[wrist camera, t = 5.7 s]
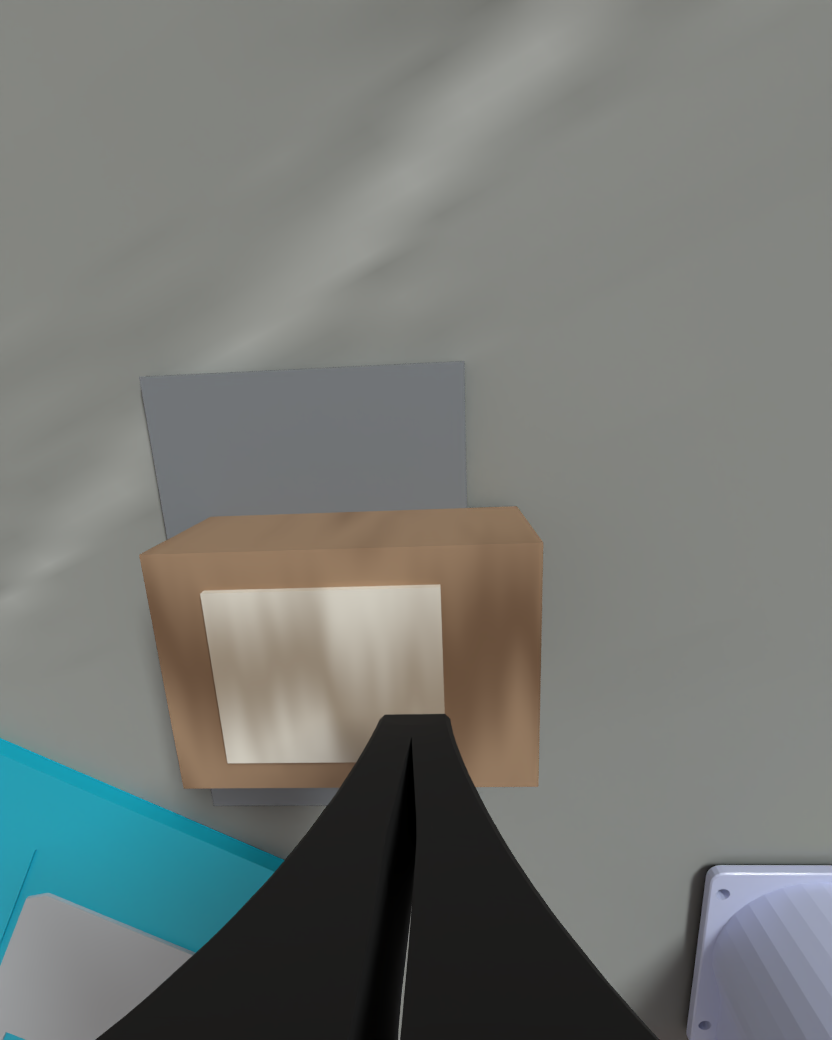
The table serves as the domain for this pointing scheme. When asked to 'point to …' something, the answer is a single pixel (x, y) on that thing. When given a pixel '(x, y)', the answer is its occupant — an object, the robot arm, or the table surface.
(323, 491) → the slate mat
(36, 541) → the table surface
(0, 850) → the diskette
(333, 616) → the cardboard box
